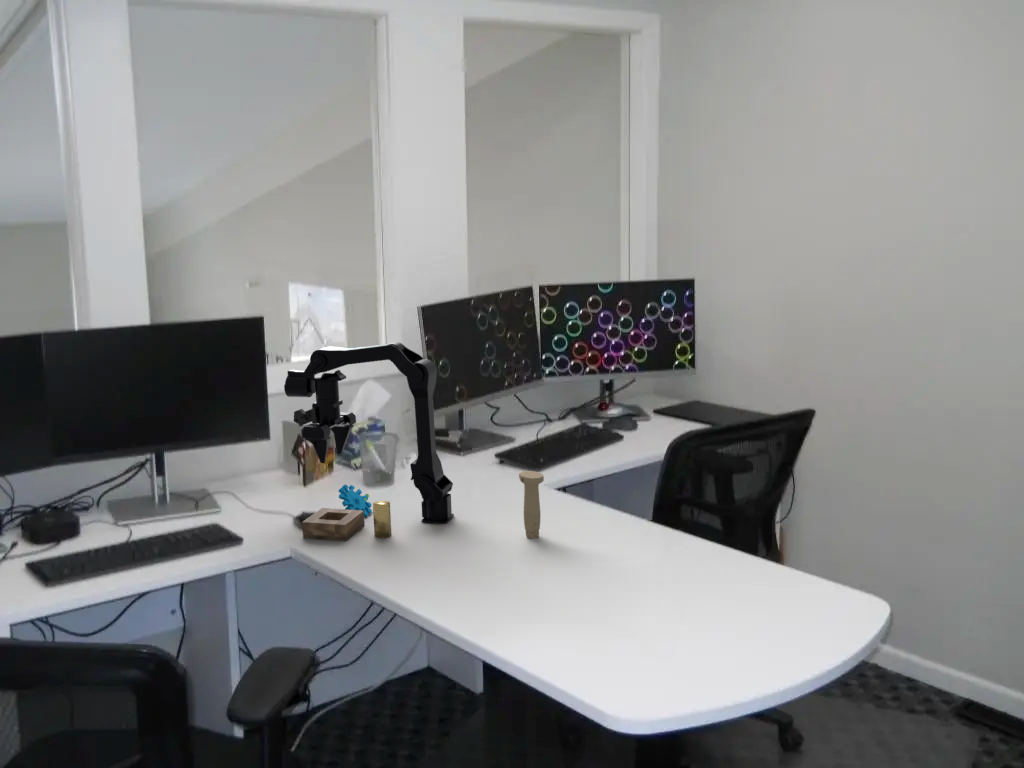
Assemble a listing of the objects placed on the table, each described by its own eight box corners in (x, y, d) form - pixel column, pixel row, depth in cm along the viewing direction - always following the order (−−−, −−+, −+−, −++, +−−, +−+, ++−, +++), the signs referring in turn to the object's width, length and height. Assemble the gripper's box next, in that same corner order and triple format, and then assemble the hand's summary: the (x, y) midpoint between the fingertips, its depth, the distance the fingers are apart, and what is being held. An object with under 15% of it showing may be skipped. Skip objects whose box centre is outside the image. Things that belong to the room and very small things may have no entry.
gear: (357, 516, 246) (334, 485, 249) (343, 531, 248) (320, 500, 251) (382, 510, 256) (360, 479, 259) (368, 524, 258) (346, 494, 261)
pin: (393, 533, 239) (392, 501, 237) (387, 538, 235) (386, 506, 233) (378, 532, 240) (376, 500, 238) (371, 537, 236) (370, 505, 234)
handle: (531, 542, 230) (530, 479, 227) (516, 534, 235) (514, 473, 233) (548, 538, 233) (547, 475, 230) (533, 530, 238) (532, 470, 235)
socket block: (364, 526, 244) (363, 510, 243) (346, 541, 234) (345, 524, 233) (323, 523, 247) (322, 508, 246) (303, 538, 236) (302, 522, 236)
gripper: (316, 389, 260) (319, 447, 263) (279, 404, 243) (284, 466, 246) (355, 390, 257) (358, 449, 260) (321, 405, 240) (325, 468, 242)
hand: (331, 458), depth 252 cm, fingers open, 9 cm apart
